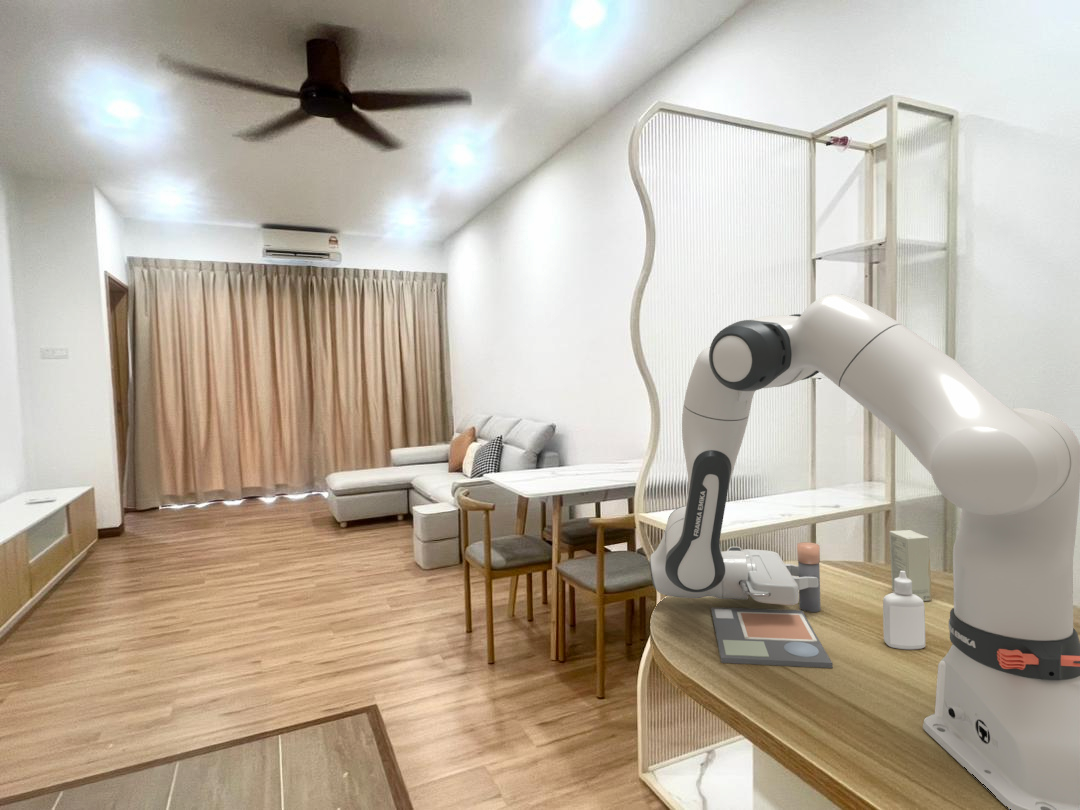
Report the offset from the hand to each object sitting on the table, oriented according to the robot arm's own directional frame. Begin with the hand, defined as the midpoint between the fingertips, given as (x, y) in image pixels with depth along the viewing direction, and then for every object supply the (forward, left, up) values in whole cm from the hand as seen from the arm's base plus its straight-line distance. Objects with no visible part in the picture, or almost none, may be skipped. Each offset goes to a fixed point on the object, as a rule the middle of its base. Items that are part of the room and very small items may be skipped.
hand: (814, 576), depth 110 cm
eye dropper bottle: (-14, -10, -6) cm, 18 cm away
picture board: (-13, +11, -6) cm, 18 cm away
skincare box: (+8, -19, -6) cm, 22 cm away
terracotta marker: (0, +1, -6) cm, 6 cm away
